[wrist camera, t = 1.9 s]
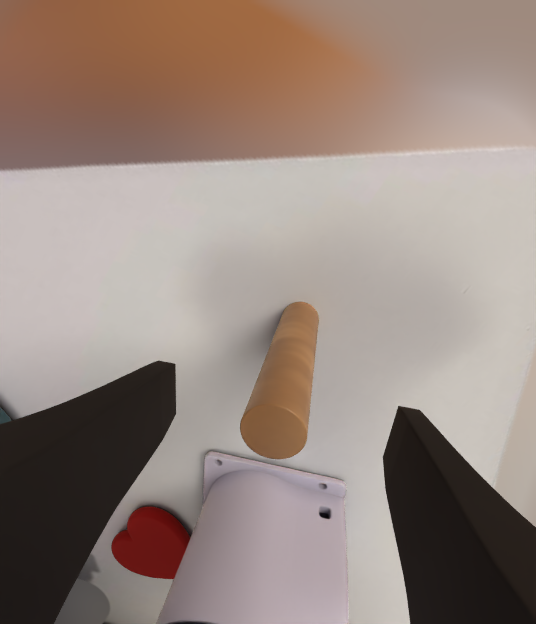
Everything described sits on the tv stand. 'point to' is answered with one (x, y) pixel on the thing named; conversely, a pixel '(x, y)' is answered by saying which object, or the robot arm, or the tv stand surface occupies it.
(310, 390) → the stirring stick
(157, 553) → the lollipop
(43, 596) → the robot arm
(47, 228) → the tv stand surface
